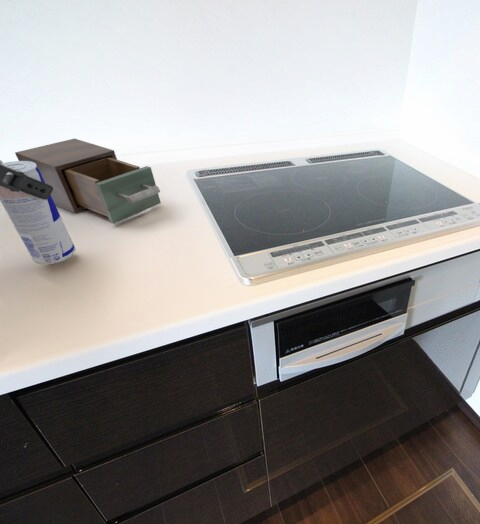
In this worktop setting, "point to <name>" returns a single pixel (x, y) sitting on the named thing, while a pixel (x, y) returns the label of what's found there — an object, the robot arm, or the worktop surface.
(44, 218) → the beverage can
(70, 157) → the cabinet
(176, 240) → the worktop surface
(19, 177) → the robot arm
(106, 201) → the drawer
